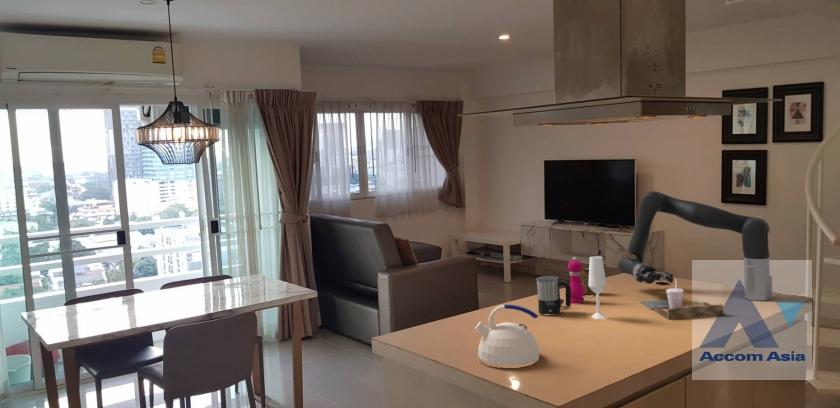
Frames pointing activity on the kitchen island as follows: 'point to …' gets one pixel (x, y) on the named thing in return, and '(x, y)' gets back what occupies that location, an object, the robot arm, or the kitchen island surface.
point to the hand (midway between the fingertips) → (661, 280)
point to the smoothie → (675, 296)
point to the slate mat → (656, 304)
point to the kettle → (507, 341)
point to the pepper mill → (576, 281)
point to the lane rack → (690, 311)
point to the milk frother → (551, 294)
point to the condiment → (585, 283)
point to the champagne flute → (597, 281)
